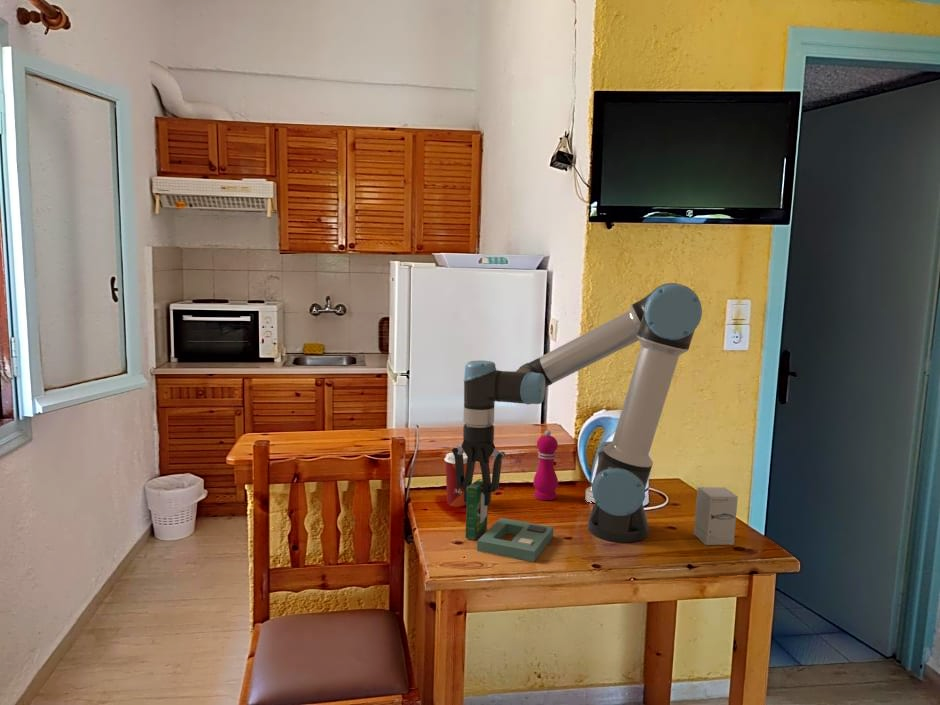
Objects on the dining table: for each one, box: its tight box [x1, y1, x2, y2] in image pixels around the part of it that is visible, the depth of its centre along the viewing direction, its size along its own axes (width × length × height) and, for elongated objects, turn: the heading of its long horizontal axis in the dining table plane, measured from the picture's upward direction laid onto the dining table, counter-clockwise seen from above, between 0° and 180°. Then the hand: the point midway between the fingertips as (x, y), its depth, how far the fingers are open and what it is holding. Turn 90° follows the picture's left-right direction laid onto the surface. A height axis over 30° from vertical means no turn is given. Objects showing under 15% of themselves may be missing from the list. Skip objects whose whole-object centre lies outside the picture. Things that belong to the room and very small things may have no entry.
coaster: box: [584, 486, 595, 503], centre depth 193 cm, size 10×10×4 cm
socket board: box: [476, 517, 554, 563], centre depth 162 cm, size 14×16×3 cm
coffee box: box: [465, 478, 489, 540], centre depth 166 cm, size 8×3×13 cm, turn 156°
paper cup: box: [444, 452, 467, 508], centre depth 188 cm, size 8×8×14 cm
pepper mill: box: [532, 430, 559, 501], centre depth 194 cm, size 7×7×20 cm
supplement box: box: [693, 486, 739, 546], centre depth 166 cm, size 7×7×13 cm
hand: (476, 515), depth 167 cm, fingers closed on coffee box, 3 cm apart
